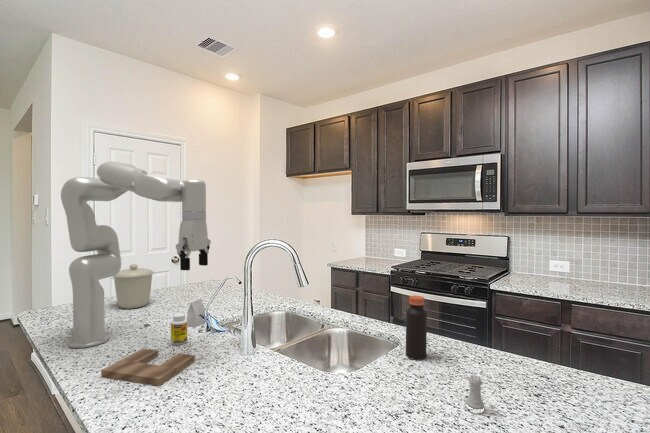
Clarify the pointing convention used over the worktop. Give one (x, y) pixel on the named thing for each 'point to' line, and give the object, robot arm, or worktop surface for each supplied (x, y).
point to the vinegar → (416, 328)
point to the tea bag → (195, 313)
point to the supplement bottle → (178, 329)
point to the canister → (133, 287)
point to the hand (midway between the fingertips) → (194, 267)
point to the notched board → (147, 368)
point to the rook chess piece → (475, 393)
